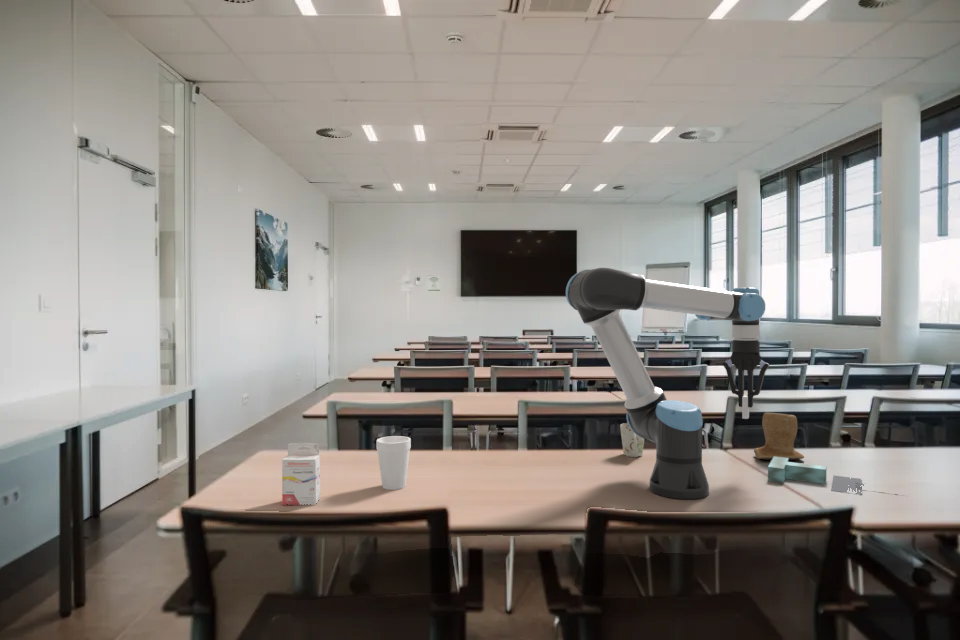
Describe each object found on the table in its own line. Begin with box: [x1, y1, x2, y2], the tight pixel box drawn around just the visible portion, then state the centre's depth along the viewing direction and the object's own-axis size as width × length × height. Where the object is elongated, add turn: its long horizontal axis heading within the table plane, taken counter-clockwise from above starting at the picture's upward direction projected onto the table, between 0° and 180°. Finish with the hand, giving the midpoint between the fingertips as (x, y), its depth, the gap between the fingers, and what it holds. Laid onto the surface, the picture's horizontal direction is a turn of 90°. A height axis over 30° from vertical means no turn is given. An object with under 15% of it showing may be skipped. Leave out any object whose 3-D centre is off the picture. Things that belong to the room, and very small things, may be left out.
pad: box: [830, 474, 865, 496], centre depth 162 cm, size 17×17×1 cm
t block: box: [767, 456, 828, 485], centre depth 171 cm, size 14×14×4 cm
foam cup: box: [375, 435, 412, 491], centre depth 165 cm, size 10×9×13 cm
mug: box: [619, 422, 645, 458], centre depth 196 cm, size 8×13×10 cm, turn 174°
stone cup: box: [753, 412, 805, 461], centre depth 193 cm, size 15×12×15 cm
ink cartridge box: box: [281, 442, 321, 506], centre depth 151 cm, size 9×5×15 cm, turn 92°
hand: (745, 417), depth 178 cm, fingers closed
